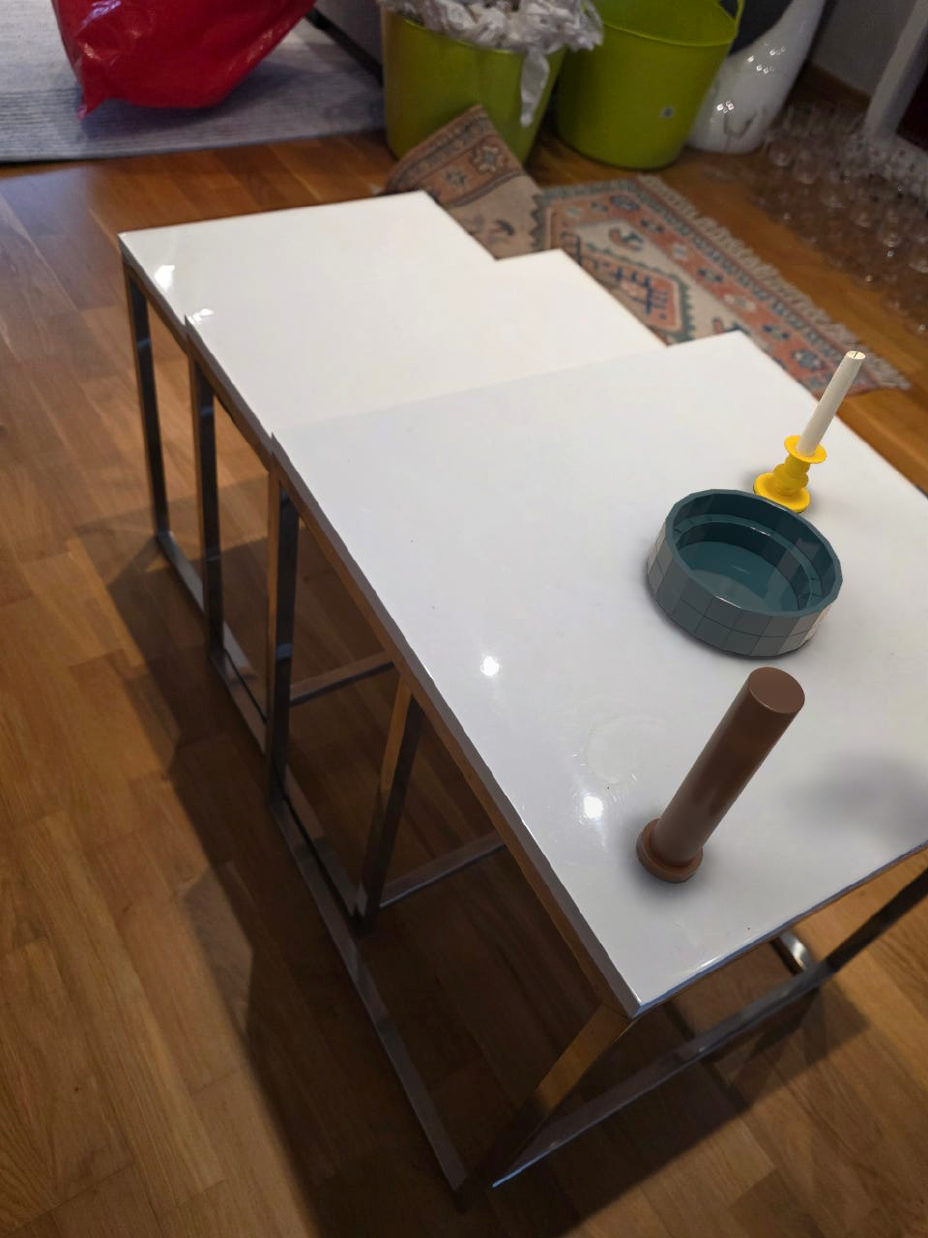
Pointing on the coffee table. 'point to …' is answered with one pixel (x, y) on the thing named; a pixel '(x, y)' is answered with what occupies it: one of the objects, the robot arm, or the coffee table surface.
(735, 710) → the rod
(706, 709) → the coffee table surface
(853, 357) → the candle
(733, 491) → the bowl
